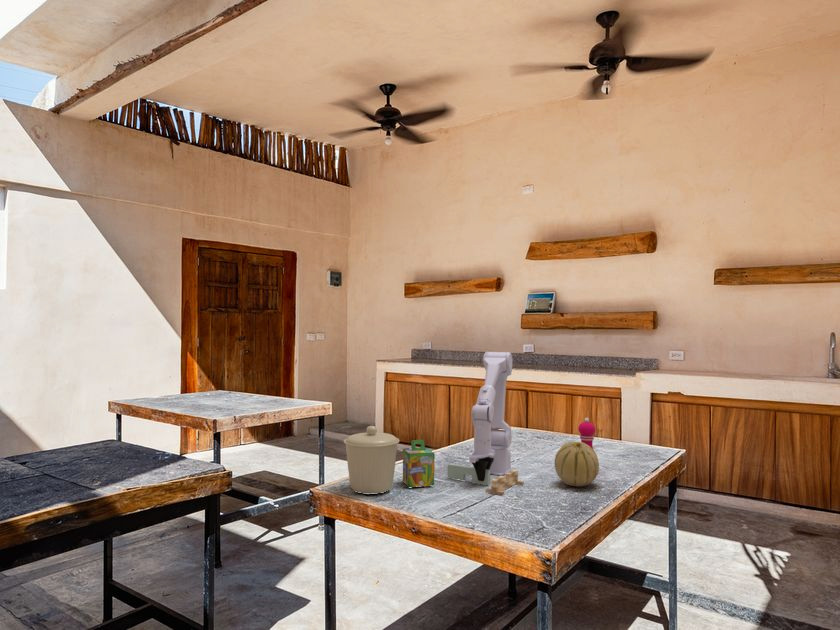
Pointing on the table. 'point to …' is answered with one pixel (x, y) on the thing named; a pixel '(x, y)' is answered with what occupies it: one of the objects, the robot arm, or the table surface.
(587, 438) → the pepper mill
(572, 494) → the table surface
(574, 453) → the cantaloupe
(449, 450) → the table surface
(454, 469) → the pale gray-green board
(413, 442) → the chalk box
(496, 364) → the robot arm
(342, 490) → the table surface
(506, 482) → the wooden rack
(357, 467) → the canister
